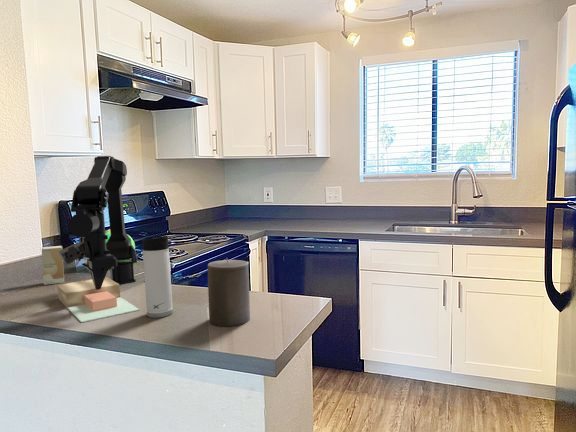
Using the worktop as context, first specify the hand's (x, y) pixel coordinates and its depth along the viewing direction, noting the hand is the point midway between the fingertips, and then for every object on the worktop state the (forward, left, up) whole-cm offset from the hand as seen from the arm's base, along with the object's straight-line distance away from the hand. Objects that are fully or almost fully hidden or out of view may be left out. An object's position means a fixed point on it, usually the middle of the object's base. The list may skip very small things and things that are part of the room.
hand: (98, 289), depth 120 cm
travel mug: (-10, +18, -5) cm, 21 cm away
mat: (0, +3, -5) cm, 6 cm away
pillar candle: (-21, +34, -5) cm, 40 cm away
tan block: (0, -11, -5) cm, 12 cm away
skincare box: (+4, -41, -5) cm, 41 cm away
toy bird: (-19, -56, -5) cm, 59 cm away
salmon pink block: (0, 0, -3) cm, 3 cm away
